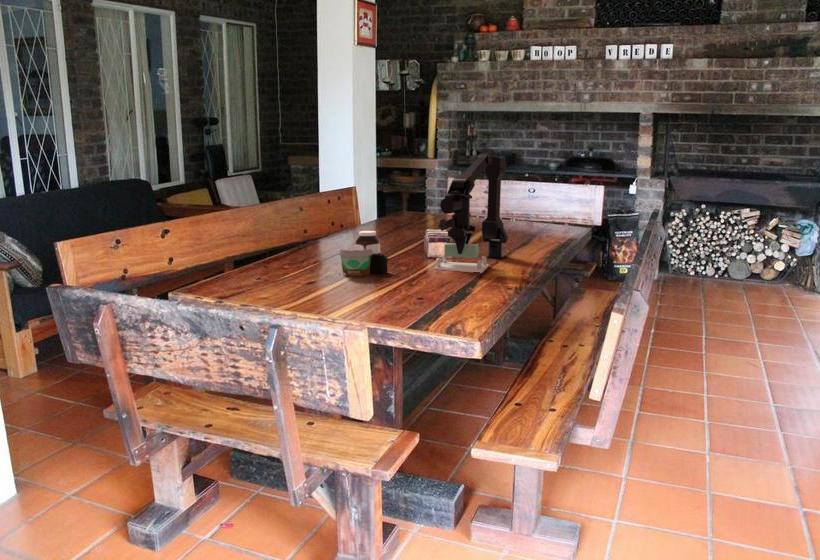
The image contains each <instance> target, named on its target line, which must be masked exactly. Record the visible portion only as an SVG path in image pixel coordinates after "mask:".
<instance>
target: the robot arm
mask: <svg viewBox="0 0 820 560" xmlns="http://www.w3.org/2000/svg"><path fill="white" fill-rule="evenodd" d="M507 166H508V164H507V161H506V160H505V159H504V157H497V156H493V155H492V154H487V153H485V154H484V153H480V154H478V155H477V157H476V159H475V160H474V161H473V163H472V164H471V165H470V166H469V167H468V168H467V169H466V170H465V171H464V172H463V173H460V174H458V175H456V176H455V177H454V178H452V180H451V182H450V185H449V188H448V189H447V193H446V194H445V195H444V198H443V199H442V200H441V201H440V207H439V208H440V210H441V212H442V213H444V214H445V215H449V214H452V216H451V218H449V219H446V218H442V219H440V220H439V223H438V228H440V231H441V232H442V231H443V232H444V231H445V230H447V229H448V230H447V237H448V238H450V239H452V240H454V243H456V246H457V250H458V254H462V251H463V248H464V245H465V244H470V241H471V239H472V236H473V234H474V233H473V232H475V231H476V225H474V223H471V222H470V218H471V217H472V214H471V213H470V211H471V210H470V209H471V207H470V206H471V205H470V204H471V202H470V201H471V200H472V199H473V196H472V195H471V194H470V193H471V192H472V191H473V190H474V188H475V185H476V183H475V181H476V180H477V179H478V178H479V176H481V175H482V173H483V172H484V175H485V176H486V179H487V182H488V183H487V213H486V214H487V216H486V218H485V219H484V220H483V221H482V222H481V236H482V241H483V242H484V243H487V255H486V259H503V258H504V257H505V254H503V244H506V243H508V239H509V237H508V235H507V232H506V231H505V229H504V227H505V226H504V222H503V221H502V219H501V216H500V215H501V193H502V192H501V189H502V187H501V186H502V185H501V184H502V180H503V177H504V176H505V175H506V172H507V171H506V169H507ZM470 231H471V232H470Z"/></svg>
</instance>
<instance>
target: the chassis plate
mask: <svg viewBox="0 0 820 560" xmlns="http://www.w3.org/2000/svg"><path fill="white" fill-rule="evenodd" d="M441 256H442V258H440V257H437V258H435V259H436V262H435V263H436V265H435V266H434V267H433V269H434V270H436V271H437V270H438V271H439V270H440V271H448V272H449V271H452V272H463V273H473V272H480V273H479V274H483V272H484V271H485V270H486V269H487V268H488V267H489V263H487V258H486V256H487V255H486V256H485V255H482V257H481V259H477V260H476V263H475V262H454V261H453V262H452V261H447V258H448V257H445V254H442V255H441ZM441 260H442V262H441Z"/></svg>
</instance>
